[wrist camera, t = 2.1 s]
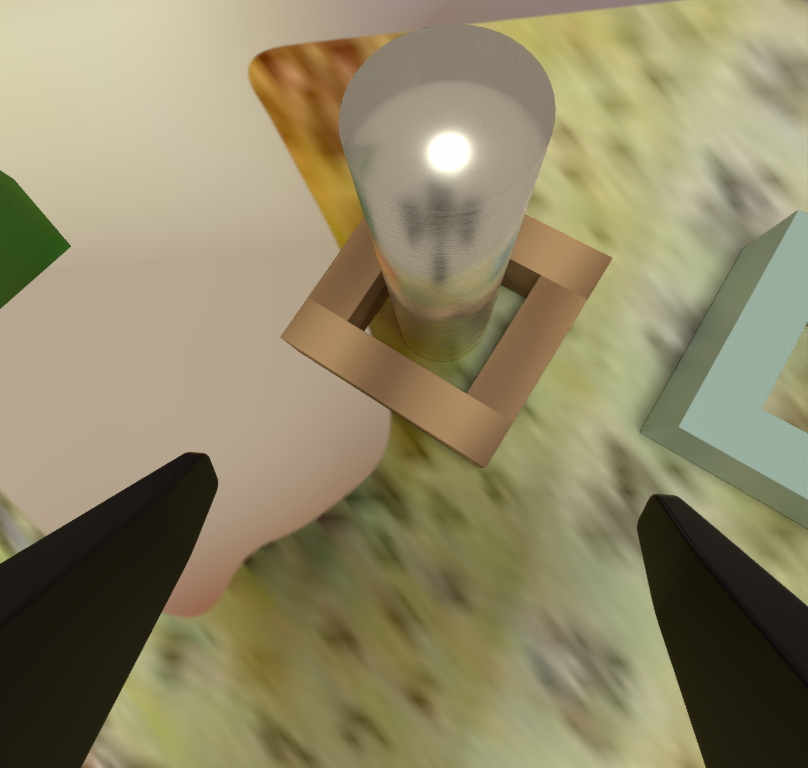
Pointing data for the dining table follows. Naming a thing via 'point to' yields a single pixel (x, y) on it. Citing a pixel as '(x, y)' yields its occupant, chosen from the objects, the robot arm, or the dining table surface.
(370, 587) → the dining table surface
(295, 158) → the dining table surface
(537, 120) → the steel axle
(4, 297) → the hardback book
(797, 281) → the grey-teal holder
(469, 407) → the brown wooden square frame
